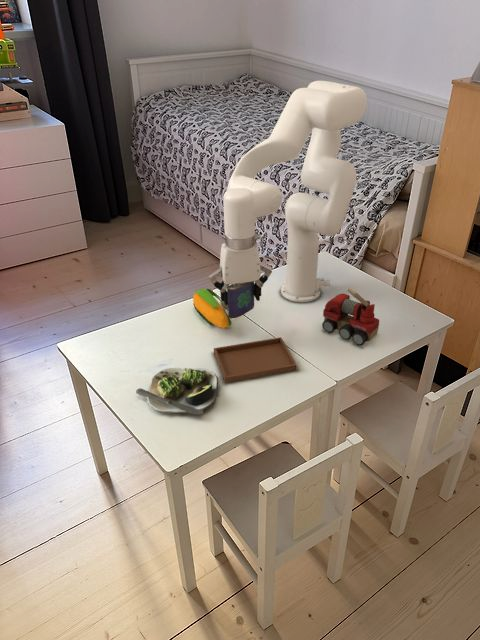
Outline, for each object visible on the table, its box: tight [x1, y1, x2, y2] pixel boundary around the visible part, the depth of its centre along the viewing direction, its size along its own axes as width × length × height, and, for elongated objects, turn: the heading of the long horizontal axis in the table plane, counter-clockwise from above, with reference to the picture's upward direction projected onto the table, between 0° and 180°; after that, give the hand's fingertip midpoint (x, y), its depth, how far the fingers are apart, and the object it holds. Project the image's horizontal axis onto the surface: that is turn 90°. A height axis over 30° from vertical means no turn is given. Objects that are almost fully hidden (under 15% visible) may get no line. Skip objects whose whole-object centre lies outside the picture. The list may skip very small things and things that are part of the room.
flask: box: [226, 281, 255, 319], centre depth 145 cm, size 9×3×11 cm, turn 138°
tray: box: [213, 336, 298, 384], centre depth 143 cm, size 19×13×2 cm
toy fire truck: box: [321, 287, 380, 347], centre depth 150 cm, size 11×16×18 cm
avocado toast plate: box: [135, 367, 219, 416], centre depth 131 cm, size 19×18×5 cm
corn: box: [192, 288, 233, 330], centre depth 157 cm, size 7×8×20 cm
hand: (241, 300), depth 146 cm, fingers closed on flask, 8 cm apart
